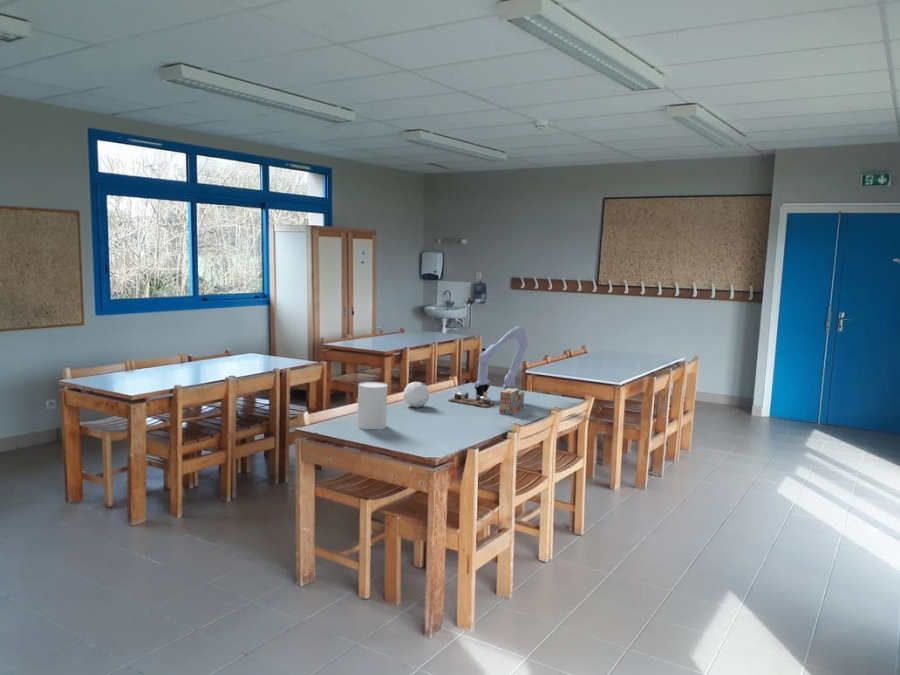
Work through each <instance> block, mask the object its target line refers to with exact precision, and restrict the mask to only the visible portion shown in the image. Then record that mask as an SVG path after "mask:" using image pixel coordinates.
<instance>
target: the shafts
mask: <svg viewBox="0 0 900 675" xmlns="http://www.w3.org/2000/svg"><path fill="white" fill-rule="evenodd" d="M455 395H458V396H460V397H465V399H468V398H469V393H468V392H465V393H463V392H457V391H456V392H454V396H455ZM475 399H476V400H477V401H479V400H483V401H484V400H486V401H489V402H491V398H490V397H488V396H487V397H481V396H480V395H477V397H476V396H475Z"/></svg>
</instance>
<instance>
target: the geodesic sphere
mask: <svg viewBox="0 0 900 675" xmlns="http://www.w3.org/2000/svg"><path fill="white" fill-rule="evenodd" d="M403 399H404V401H405V403H407V404H408V405H409V406H410V407H413V408H420V407H424V406H425V405H426V404H427V403H428V401H429V399H430V390H429V388H428V386H427V384H426V383H425V382H420V381H413V382H409V383H408V384H407V385H406V386H405V388H404V389H403Z"/></svg>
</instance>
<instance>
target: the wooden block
mask: <svg viewBox="0 0 900 675" xmlns="http://www.w3.org/2000/svg"><path fill="white" fill-rule="evenodd" d="M476 397H477V392H476V394H475V398H476ZM482 397H487V398H488V390H487V391H483V393H482Z"/></svg>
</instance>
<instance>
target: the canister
mask: <svg viewBox="0 0 900 675" xmlns="http://www.w3.org/2000/svg"><path fill="white" fill-rule="evenodd" d="M357 388H358V390H357V394H358V395H357V415H356V416H357V419H356V420H357V421H356V422H357V423H356V427H357V428H358V427H359V428H358V429H361V428H362V430H366V429H379V430H383V429H385V428H386V427H387V406H388V405H387V403H388V384H387V383H385V382H379V381H364V382H363V381H362V382H359V383H358V386H357Z"/></svg>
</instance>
